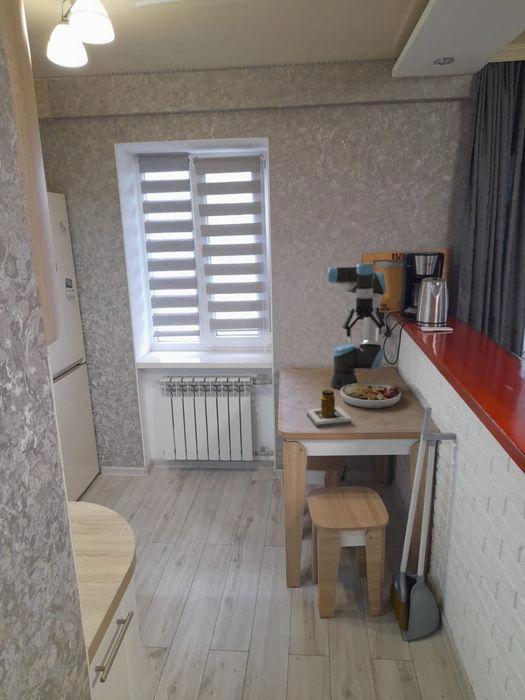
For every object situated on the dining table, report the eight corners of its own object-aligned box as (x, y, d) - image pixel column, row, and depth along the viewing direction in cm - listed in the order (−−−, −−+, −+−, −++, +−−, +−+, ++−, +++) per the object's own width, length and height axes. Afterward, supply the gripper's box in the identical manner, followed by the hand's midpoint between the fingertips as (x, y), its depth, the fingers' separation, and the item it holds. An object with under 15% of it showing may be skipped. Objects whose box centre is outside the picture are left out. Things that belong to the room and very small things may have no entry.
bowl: (341, 410, 227) (341, 394, 225) (339, 391, 256) (339, 377, 254) (405, 411, 223) (405, 395, 222) (395, 391, 252) (396, 377, 251)
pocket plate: (306, 415, 221) (306, 409, 221) (338, 411, 224) (338, 406, 224) (316, 427, 206) (316, 422, 205) (351, 424, 209) (351, 418, 208)
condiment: (318, 414, 217) (318, 390, 215) (335, 412, 219) (335, 388, 217) (324, 420, 210) (324, 394, 208) (341, 417, 212) (341, 392, 210)
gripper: (341, 299, 210) (341, 345, 215) (393, 296, 215) (392, 342, 220) (336, 298, 218) (335, 342, 222) (386, 295, 222) (384, 338, 227)
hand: (363, 342), depth 221 cm, fingers open, 13 cm apart
